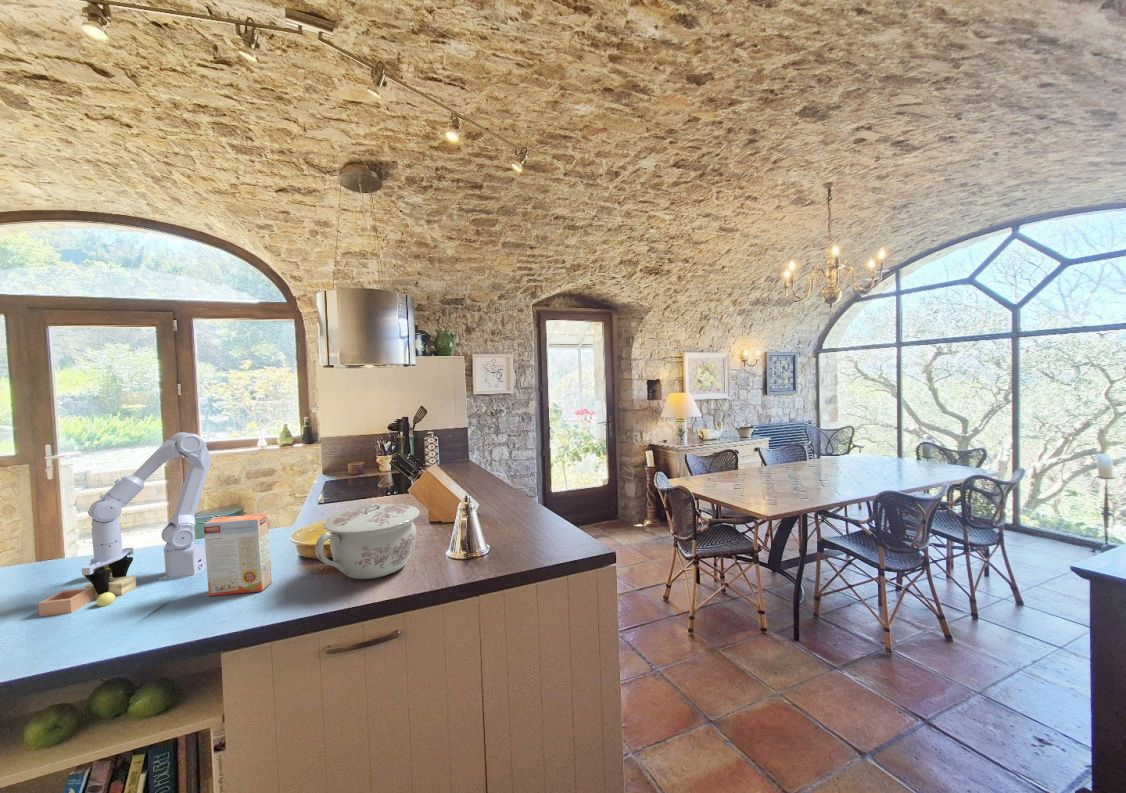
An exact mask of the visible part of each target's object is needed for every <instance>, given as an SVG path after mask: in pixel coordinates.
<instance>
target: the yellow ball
mask: <svg viewBox="0 0 1126 793" xmlns="http://www.w3.org/2000/svg"><path fill="white" fill-rule="evenodd" d="M115 600H116V598H115V595H114V594H113V593H111V592H106V593H103V594H101V595H100V596H99V597H98V598H97V600H95V601H96V605H97V606H98V607H105V606H109V605H111V604H113V603H115Z"/></svg>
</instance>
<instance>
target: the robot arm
mask: <svg viewBox="0 0 1126 793" xmlns="http://www.w3.org/2000/svg"><path fill="white" fill-rule="evenodd" d="M209 452H210V451H209V450H208V447H207V442H206V441H205V440H204V439H203V438H202V437H201V436H200V435H198V434H196V433H189V432H187V431H186V432H185V431H182V432H181V431H180V432H176V433H174V434H173V435H172V436H171V437H170V439H167V440H166V441H165V442H163V443H162V444H161V445H160V446H159V447H158V448H157V449H156V450H155V452H154V453H152V455H150V457H148V458H147V459H146V461H145V462H144V463H143V464H142V465H141V466H140V467H139V468H138V469H137V470H136V471H135V472H134V473H133V474H132V475H131V474H130V475H126V476H123V477H122V478H121V479H119V478H117V479H116V480H115V481H114V482H113V483H114V485H113V486H112V487H111V488H110V489H109V490H108V491H107V492H106V493H105V494H101V495H100V496H98V497H99V499H98V500H95V501H94V502H93V503H92V504H90V506H89V509H88V510H87V513H88V516H89V517H91V522H90V523H91V538H92V541H91V542H92V548H93V558H91V559H90V562H89V563H88V564H87V565H85V566H84V567H82V568H81V575H82V576H84V577H85V578H86V579H87V580H88V581H89V582H90V584H91V583H92V584H93V586H94V588H95V590H96V592H97V594H98V595H101V594H103V593H106V592H108V590H109V577H110V574H111V573H112V577H111V578H113V577H125V576H127V574H128V571H129V568H130V566H131V564H132V563H133V561H134V557H133V556H132V555H134V547H125V548H123V543H122V529H121V523H120V516H121V514H122V510H123V509H122V508H123V507H125V506H127V505H128V504H129V503H130V502H131V501H133V499H134V498H135V497H136V496H137V495H138V494H140V492H141V491H142V490H143V489H144V488H145V481H146V480H148V478H150V476H152V475H153V474H154V473H155V472H156V471H158V469H159V468H160V467H162V466H163V465H164V464H165V463H166V462H168V460H171V459H176V458H179V457H182V456H183V457H184V459H185V460H186V461H187V462H188V463H189V466H188V469H187V473H186V476H185V479H184V483H183V486H182V489H181V491H180V494H179V498H178V501H177V505H176V506H175V509H174V513H173V515H172V516H171V517H170V518H169V522H168V523H167V525H166V526H165V527H164V528H163V530H162V531H161V539H162V540H163V541H164V542H165V545H164V547H163V555H164V556H163V557H164V568H165V575H164V576H162V577H160V578H158V581H163V580H174V579H185V578H192V577H194V576H196V575H197V574H199V573H200V572H203V571H204V570H206V569H207V564H206V550H205V545H201V544H195V538H196V533H195V532H196V531H195V527H196V519H195V515H196V513H197V510H198V507H199V503H200V500H201V496H202V493H203V489H204V486H205V482H206V480H207V476H208V473H209V470H210V467H211V464H212V457H211V454H210V453H209ZM128 556H129V557H128ZM107 565H108V566H109V568H110V569H105V568H104V567H105V566H107Z"/></svg>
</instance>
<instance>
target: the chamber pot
mask: <svg viewBox="0 0 1126 793" xmlns="http://www.w3.org/2000/svg"><path fill="white" fill-rule="evenodd" d="M420 511H421V510H419V508H417V507H416V506H414V505H411V504H402V503H378V502H376V503H375V502H374V503H371V504H369V505H365V506H364V505H363V506H360V507H359V506H358V507H355V508H352V509H348V510H345V511H343V512H339V513H337V514H335V515H332V516H330V517H329V518H327V519H326V520H325V522H324V523H322V526H323V529H325V531H324V532H323V533H322V534H321V535H320V536H319V537H318V538H317V539H316V543H315V546H314V548H315V549H314V551H315V556H316V558H317V559H318V561H319V560H320V562H322V563H323V564H325V565H327V566H330V567H334V568H335V569H337V570H338V571H340V572H341V573H343V574H344V575H345V576H347V577H348V578H351V579H356V580H373V579H379V578H382V577H386V576H388V575H390V574H394V573H396V572H397V571H399V570H400V569H402V568H403V567H404V566H405V565H406V563H407V562H408V561H409V558H410V557H411V555H412V554H413V551H414V548H415V544H416V537H417V526H416V524H415V523H414V520H415V519H416V518H417V517H419V516H420V513H421V512H420ZM328 540H329V549H330V552H331V556H332V560H330V559H329V558H328V557H326V555H325V553H324V546H325V543H326V542H327V541H328Z"/></svg>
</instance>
